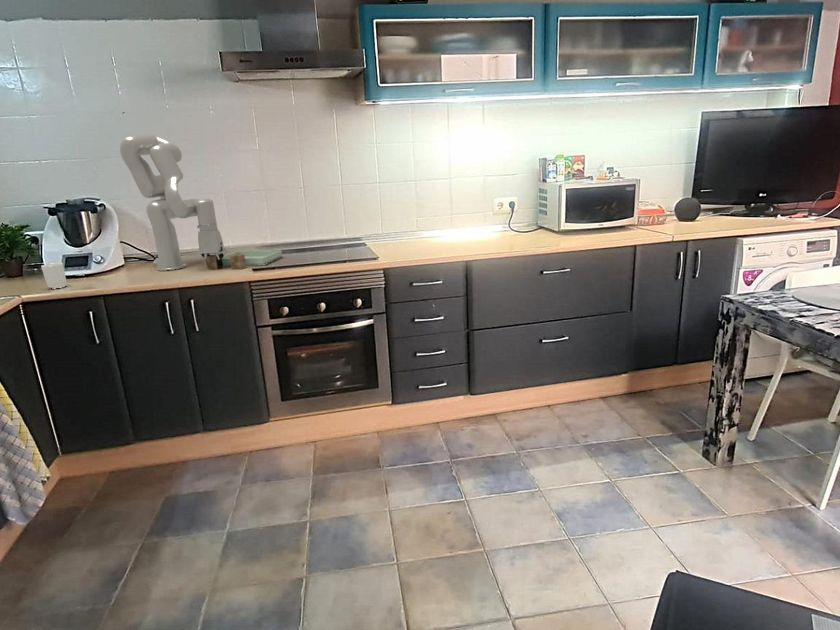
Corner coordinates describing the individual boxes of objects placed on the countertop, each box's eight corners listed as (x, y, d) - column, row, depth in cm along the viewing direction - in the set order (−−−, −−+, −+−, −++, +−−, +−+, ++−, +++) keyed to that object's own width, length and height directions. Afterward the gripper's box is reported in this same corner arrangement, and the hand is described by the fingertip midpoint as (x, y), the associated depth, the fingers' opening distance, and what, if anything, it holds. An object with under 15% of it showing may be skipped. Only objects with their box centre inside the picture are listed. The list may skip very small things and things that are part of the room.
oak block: (232, 269, 255) (229, 256, 253) (237, 267, 259) (235, 254, 258) (241, 269, 254) (238, 256, 252) (246, 267, 258) (244, 254, 256)
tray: (217, 266, 264) (215, 258, 263) (237, 258, 281) (236, 251, 280) (264, 265, 258) (262, 258, 257) (282, 257, 275) (281, 250, 274)
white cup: (42, 289, 239) (36, 266, 236) (59, 285, 246) (54, 262, 243) (55, 290, 237) (49, 266, 234) (72, 285, 244) (67, 262, 241)
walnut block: (208, 269, 258) (206, 256, 256) (213, 267, 262) (211, 254, 260) (217, 269, 257) (214, 256, 255) (222, 267, 261) (220, 254, 259)
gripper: (186, 229, 253) (194, 269, 258) (220, 228, 249) (227, 269, 254) (196, 226, 260) (203, 266, 265) (229, 225, 255) (236, 265, 261)
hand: (215, 267), depth 259 cm, fingers closed on walnut block, 4 cm apart
